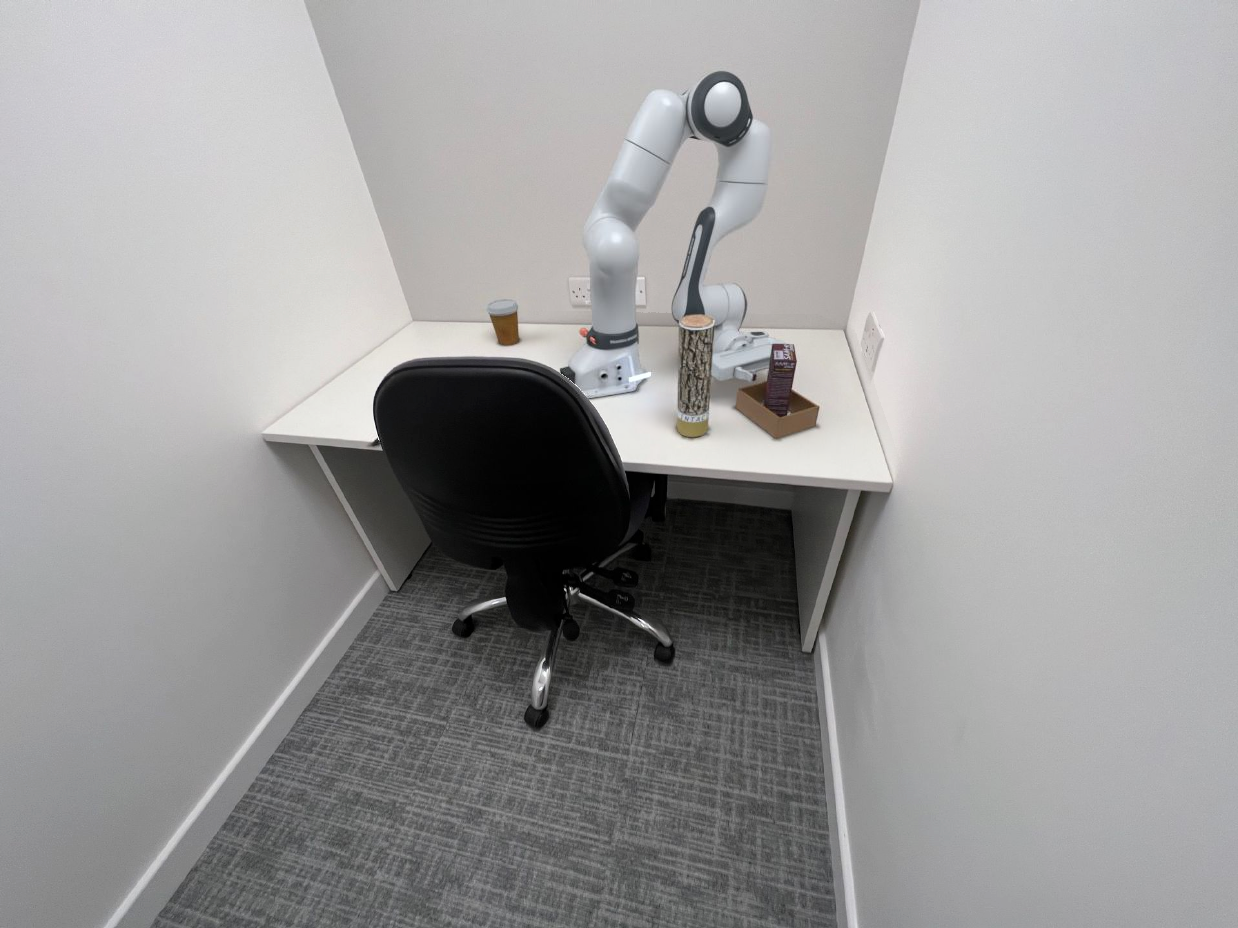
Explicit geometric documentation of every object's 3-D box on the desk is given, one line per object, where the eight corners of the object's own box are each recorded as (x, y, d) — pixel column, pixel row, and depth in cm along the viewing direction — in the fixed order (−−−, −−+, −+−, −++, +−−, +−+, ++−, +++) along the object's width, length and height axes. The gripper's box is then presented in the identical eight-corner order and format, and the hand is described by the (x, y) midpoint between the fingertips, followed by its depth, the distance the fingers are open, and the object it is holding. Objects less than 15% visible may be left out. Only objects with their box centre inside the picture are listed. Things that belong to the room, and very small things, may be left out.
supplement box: (786, 427, 108) (797, 360, 99) (763, 426, 109) (772, 359, 100) (783, 407, 115) (794, 343, 106) (762, 406, 116) (771, 342, 107)
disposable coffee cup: (530, 338, 157) (523, 301, 150) (509, 349, 151) (502, 311, 144) (508, 333, 162) (501, 297, 154) (487, 344, 155) (478, 306, 148)
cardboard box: (776, 439, 105) (779, 419, 102) (735, 407, 116) (737, 389, 113) (815, 426, 108) (819, 406, 105) (771, 397, 119) (774, 378, 116)
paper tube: (674, 423, 112) (676, 316, 97) (704, 420, 112) (710, 313, 98) (679, 440, 107) (682, 328, 92) (710, 437, 107) (718, 325, 92)
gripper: (698, 348, 114) (732, 371, 104) (770, 329, 120) (810, 350, 110) (697, 372, 118) (730, 397, 108) (767, 354, 124) (805, 375, 114)
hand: (771, 373), depth 109 cm, fingers open, 8 cm apart
